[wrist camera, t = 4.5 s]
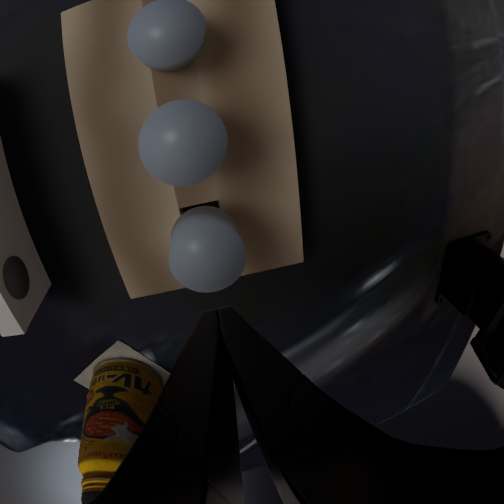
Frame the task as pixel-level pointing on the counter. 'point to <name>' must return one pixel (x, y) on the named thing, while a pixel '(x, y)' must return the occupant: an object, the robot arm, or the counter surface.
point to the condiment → (115, 411)
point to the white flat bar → (17, 262)
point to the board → (192, 88)
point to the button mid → (182, 142)
